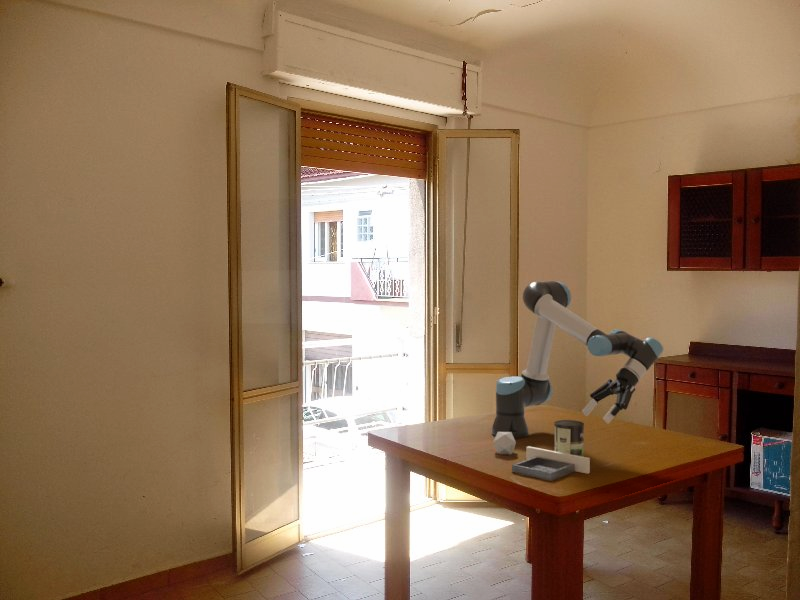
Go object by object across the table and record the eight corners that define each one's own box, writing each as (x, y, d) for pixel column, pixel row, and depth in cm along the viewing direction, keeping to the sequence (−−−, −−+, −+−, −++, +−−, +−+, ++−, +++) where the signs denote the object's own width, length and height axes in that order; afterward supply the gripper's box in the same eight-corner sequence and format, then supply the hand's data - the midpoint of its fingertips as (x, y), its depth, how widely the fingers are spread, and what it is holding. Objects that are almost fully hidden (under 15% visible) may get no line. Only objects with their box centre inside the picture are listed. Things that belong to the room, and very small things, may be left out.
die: (507, 459, 258) (521, 437, 260) (487, 446, 261) (501, 424, 263) (507, 461, 266) (521, 440, 268) (487, 448, 269) (501, 427, 270)
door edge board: (526, 460, 254) (526, 447, 253) (528, 460, 255) (528, 446, 255) (587, 473, 237) (587, 458, 237) (589, 472, 238) (589, 458, 238)
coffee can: (583, 459, 256) (583, 420, 255) (584, 466, 246) (584, 426, 245) (553, 457, 258) (553, 419, 257) (554, 465, 248) (554, 425, 247)
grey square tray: (512, 472, 239) (512, 464, 239) (536, 463, 250) (536, 456, 250) (550, 481, 229) (551, 473, 229) (574, 471, 240) (574, 464, 240)
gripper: (658, 385, 247) (621, 431, 243) (616, 376, 270) (582, 417, 267) (645, 371, 245) (607, 417, 241) (604, 362, 269) (569, 404, 265)
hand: (594, 417), depth 254 cm, fingers open, 13 cm apart
